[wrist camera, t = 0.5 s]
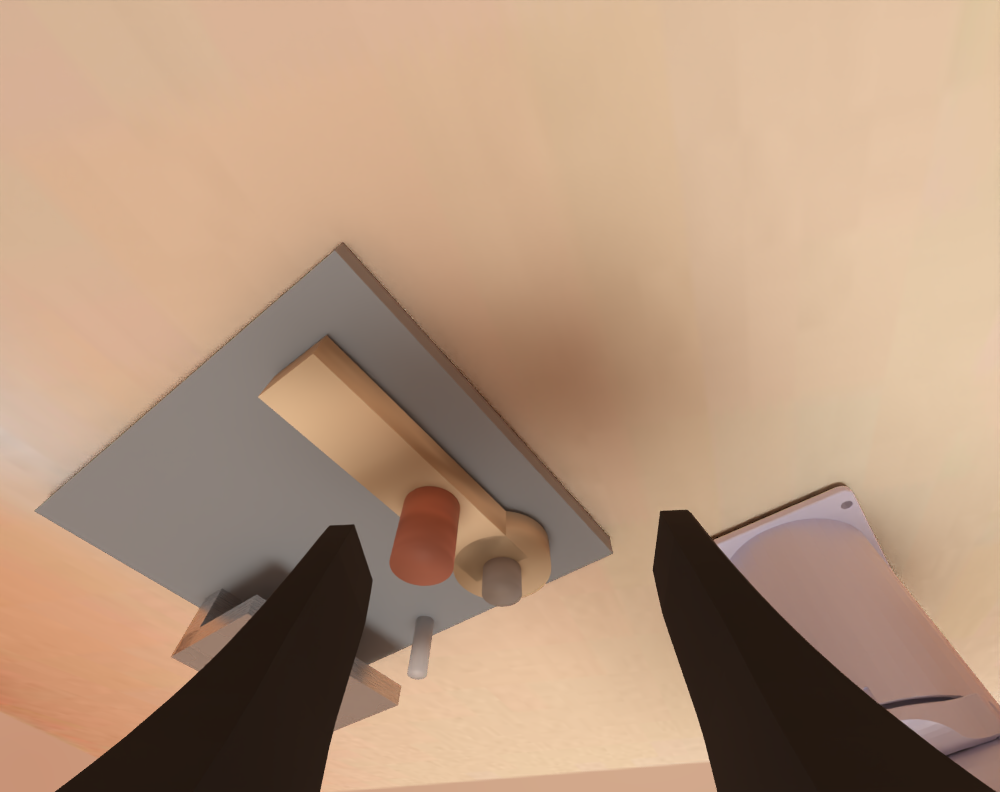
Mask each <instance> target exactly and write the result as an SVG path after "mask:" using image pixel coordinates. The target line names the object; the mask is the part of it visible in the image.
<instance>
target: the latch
mask: <svg viewBox="0 0 1000 792" xmlns="http://www.w3.org/2000/svg"><path fill="white" fill-rule="evenodd" d="M258 398H260V399H261V400H262V401H263V402H264V403H266V404H267V405H268V406H269V407H270V408H271V409H273V410H274V411H275V412H276V413H277V414H279V415H280V416H281V417H282V418H283V419H285V420H286V421H287V422H288V423H289V424H290V425H292V426H293V427H294V428H295V429H296V430H298V431H299V432H300V433H301V434H302V435H303V436H305V437H306V438H307V439H308V440H309V441H311V442H312V443H313V444H314V445H315V446H316V447H318V448H319V449H320V450H321V451H322V452H324V453H325V454H326V455H327V456H328V457H330V458H331V459H332V460H333V461H334V462H335V463H337V464H338V465H339V466H340V467H341V468H343V469H344V470H345V471H346V472H347V473H348V474H350V475H351V476H352V477H353V478H354V479H356V480H357V481H358V482H359V483H360V484H362V485H363V486H364V487H365V488H366V489H367V490H369V491H370V492H371V493H372V494H373V495H375V496H376V497H377V498H378V499H379V500H380V501H382V502H383V503H384V504H385V505H386V506H388V507H389V508H390V509H391V510H392V511H393V512H395V513H396V514H397V515H398V516H399V517H400V520H399V524H398V528H397V532H396V536H395V540H394V544H393V548H392V552H391V556H390V561H389V565H390V568H391V570H392V572H393V573H394V574H395V575H396V576H397V577H398V578H399V579H401V580H403V581H405V582H407V583H410V584H413V585H419V586H430V585H436V584H439V583H441V582H443V581H445V580H447V579H448V578H449V577H450V576H451V574H452V572H454V575H455V578H456V580H457V581H458V583H459V584H460V585H461V586H462V587H463V588H464V589H466V590H467V591H469V592H470V593H472V594H474V595H477V596H479V597H482V598H483V599H484V600H485V601H486V602H487V603H489V604H491V605H494V606H501V607H503V606H510V605H513V604H515V603H517V602H518V601H519V600H520V599H521V598H523V597H526V596H529V595H531V594H533V593H535V592H536V591H538V590H539V589H541V588H542V587H543V586H544V585H545V584H546V582H547V581H548V579H549V577H550V574H551V559H550V548H549V539H548V536H547V533H546V531H545V530H544V528H543V527H542V526H541V525H540V524H539V523H538V522H537V521H535V520H534V519H532V518H530V517H528V516H526V515H523V514H520V513H516V512H510V511H505V510H504V509H503V508H502V507H501V506H500V505H499V504H498V503H497V502H496V501H495V500H494V499H493V498H492V497H491V496H490V495H489V494H488V493H487V492H486V491H485V490H484V489H483V488H482V487H481V486H480V485H479V484H478V483H477V482H476V481H475V480H474V479H473V478H472V477H471V476H470V475H468V474H467V473H466V472H465V471H464V470H463V469H462V468H461V467H460V466H459V465H458V464H457V463H456V462H455V461H454V460H453V459H452V458H451V457H450V456H449V455H448V454H447V453H446V452H445V451H444V450H443V449H442V448H441V447H440V446H439V445H438V444H437V443H436V442H435V441H434V440H433V439H432V438H431V437H430V436H429V435H428V434H427V433H426V432H425V431H424V430H423V429H422V428H421V427H420V426H419V425H418V424H417V423H415V422H414V421H413V420H412V419H411V418H410V417H409V416H408V415H407V414H406V413H405V412H404V411H403V410H402V409H401V408H400V407H399V406H398V405H397V404H396V403H395V402H394V401H393V400H392V399H391V398H390V397H389V396H388V395H387V394H386V393H385V392H384V391H383V390H382V389H381V388H380V387H379V386H378V385H377V384H376V383H375V382H374V381H373V380H372V379H371V378H370V377H369V376H368V375H367V374H366V373H365V372H364V371H363V370H361V369H360V368H359V367H358V366H357V365H356V364H355V363H354V362H353V361H352V360H351V359H350V358H349V357H348V356H347V355H346V354H345V353H344V352H343V351H342V350H341V349H340V348H339V347H338V346H337V345H336V344H335V343H334V342H333V341H332V340H331V339H330V338H329V337H328V336H327V335H326V336H325V337H324V338H322V339H321V340H320V341H319V342H317V343H316V344H315V345H313V346H312V347H311V348H310V349H308V350H307V351H306V352H305V353H303V354H302V355H301V356H300V357H298V358H297V359H296V360H295V361H293V362H292V363H291V364H289V365H288V366H287V367H286V368H284V369H283V370H282V371H281V372H279V373H278V374H277V375H276V376H274V377H273V379H272V380H271V381H270V382H269V384H268V385H267V386H266V387H265V389H264V390H263V391H262V392H261V394H260V395H259V396H258Z"/></svg>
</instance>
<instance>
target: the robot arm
mask: <svg viewBox="0 0 1000 792" xmlns="http://www.w3.org/2000/svg"><path fill="white" fill-rule="evenodd" d="M653 573H654V578H655V582H656V587H657V592H658V596H659V601H660V605H661V609H662V614H663V617H664V620H665V623H666V626H667V629H668V632H669V635H670V638H671V641H672V644H673V646H674V649H675V652H676V655H677V658H678V661H679V664H680V667H681V670H682V673H683V676H684V679H685V682H686V684H687V687H688V690H689V693H690V696H691V699H692V702H693V705H694V708H695V711H696V714H697V717H698V720H699V723H700V727H701V730H702V733H703V737H704V740H705V744H706V748H707V752H708V756H709V760H710V764H711V768H712V772H713V776H714V780H715V784H716V788H717V792H1000V706H999V704H998V703H997V702H996V701H995V699H994V698H993V697H992V695H991V694H990V693H989V692H988V690H987V689H986V688H985V687H984V685H983V684H982V683H981V682H980V680H979V679H978V678H977V677H976V675H975V674H974V673H973V672H972V670H971V669H970V668H969V667H968V665H967V664H966V663H965V662H964V660H963V659H962V658H961V657H960V655H959V654H958V653H957V652H956V650H955V649H954V648H953V647H952V645H951V644H950V643H949V642H948V640H947V639H946V638H945V636H944V635H943V634H942V633H941V631H940V630H939V629H938V628H937V626H936V625H935V624H934V623H933V621H932V620H931V619H930V618H929V616H928V615H927V614H926V613H925V611H924V610H923V609H922V608H921V606H920V605H919V604H918V603H917V601H916V600H915V599H914V598H913V596H912V595H911V594H910V593H909V591H908V590H907V589H906V588H905V586H904V585H903V584H902V583H901V581H900V580H899V579H898V577H897V576H896V575H895V574H894V572H893V571H892V569H891V567H890V565H889V563H888V561H887V559H886V557H885V555H884V553H883V551H882V549H881V547H880V545H879V543H878V541H877V539H876V537H875V535H874V533H873V531H872V529H871V527H870V525H869V523H868V521H867V519H866V517H865V515H864V513H863V511H862V509H861V507H860V505H859V503H858V501H857V499H856V497H855V495H854V493H853V492H852V491H851V489H850V488H849V487H847V486H838V487H835V488H833V489H830V490H828V491H826V492H823V493H821V494H819V495H816V496H814V497H812V498H809V499H807V500H805V501H803V502H800V503H798V504H796V505H793V506H791V507H789V508H786V509H784V510H782V511H779V512H777V513H775V514H772V515H770V516H768V517H765V518H763V519H761V520H758V521H756V522H754V523H751V524H749V525H747V526H745V527H742V528H740V529H738V530H735V531H733V532H731V533H728V534H726V535H724V536H721V537H719V538H717V539H714V540H713V539H712V538H711V537H710V536H709V535H708V533H707V532H706V531H705V530H704V528H703V527H702V526H701V525H700V523H699V522H698V521H697V520H696V518H695V517H694V516H693V515H692V513H690V512H689V511H688V510H672V511H660V518H659V526H658V534H657V541H656V549H655V557H654V565H653ZM372 582H373V579H372V576H371V573H370V570H369V567H368V564H367V561H366V558H365V555H364V552H363V549H362V546H361V543H360V540H359V537H358V534H357V531H356V528H355V525H354V524H350V525H329V527H328V528H327V529H326V530H325V531H324V532H323V533H322V535H321V536H320V537H319V538H318V539H317V541H316V542H315V543H314V544H313V546H312V547H311V548H310V549H309V551H308V552H307V553H306V554H305V555H304V557H303V558H302V559H301V560H300V562H299V563H298V564H297V565H296V566H295V568H294V569H293V570H292V571H291V572H290V574H289V575H288V576H287V577H286V578H285V580H284V581H283V582H282V583H281V584H280V585H279V587H278V588H277V589H276V590H275V591H274V592H273V594H272V595H271V596H270V597H269V598H268V599H267V601H266V602H265V603H264V604H263V605H262V606H261V607H260V609H259V610H258V611H257V612H256V613H255V614H254V615H253V616H252V617H251V618H250V619H249V621H248V622H247V623H246V624H245V625H244V626H243V627H242V628H241V629H240V630H239V631H238V632H237V634H236V635H235V636H234V637H233V638H232V639H231V640H230V641H229V642H228V643H227V644H226V645H225V646H224V647H223V648H222V649H221V650H220V651H219V652H218V653H217V654H216V655H215V656H214V657H213V658H212V659H211V660H210V661H209V662H208V663H207V664H206V665H205V666H204V667H203V668H202V669H201V670H200V671H199V672H198V673H197V674H196V675H195V676H194V677H193V678H192V679H191V680H190V681H189V682H188V683H186V684H185V685H184V686H183V687H182V688H181V689H180V690H179V691H178V692H177V693H175V694H174V695H173V696H172V697H171V698H170V699H169V700H168V701H167V702H165V703H164V704H163V705H162V706H161V707H160V708H158V709H157V710H156V711H155V712H154V713H153V714H151V715H150V716H149V717H148V718H147V719H146V720H144V721H143V722H142V723H141V724H140V725H139V726H137V727H136V728H135V729H134V730H133V731H132V732H130V733H129V734H128V735H127V736H126V737H125V738H123V739H122V740H121V741H120V742H118V743H117V744H116V745H115V746H113V747H112V748H111V749H110V750H108V751H107V752H106V753H105V754H103V755H102V756H101V757H100V758H98V759H97V760H96V761H95V762H93V763H92V764H91V765H89V766H88V767H87V768H86V769H84V770H83V771H82V772H80V773H79V774H78V775H76V776H75V777H74V778H73V779H71V780H70V781H69V782H67V783H66V784H65V785H63V786H62V787H61V788H59V789H58V790H57V791H55V792H320V789H321V784H322V779H323V775H324V770H325V765H326V760H327V755H328V751H329V746H330V742H331V738H332V734H333V731H334V727H335V723H336V720H337V716H338V713H339V710H340V706H341V703H342V700H343V696H344V693H345V690H346V687H347V683H348V680H349V677H350V673H351V670H352V667H353V663H354V660H355V657H356V653H357V650H358V647H359V643H360V640H361V637H362V633H363V630H364V626H365V622H366V617H367V612H368V606H369V601H370V595H371V589H372Z"/></svg>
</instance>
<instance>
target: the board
mask: <svg viewBox="0 0 1000 792" xmlns="http://www.w3.org/2000/svg"><path fill="white" fill-rule="evenodd" d="M326 335H327V336H328V337H329V338H330V339H331V340H332V341H333V342H334V343H335V344H336V345H337V346H338V347H339V348H340V349H341V350H342V351H343V352H344V353H345V354H346V355H347V356H348V357H349V358H350V359H351V360H352V361H353V362H354V363H355V364H356V365H357V366H358V367H359V368H360V369H361V370H363V371H364V372H365V373H366V374H367V375H368V376H369V377H370V378H371V379H372V380H373V381H374V382H375V383H376V384H377V385H378V386H379V387H380V388H381V389H382V390H383V391H384V392H385V393H386V394H387V395H388V396H389V397H390V398H391V399H392V400H393V401H394V402H395V403H396V404H397V405H398V406H399V407H400V408H401V409H402V410H403V411H404V412H405V413H406V414H407V415H408V416H409V417H410V418H411V419H412V420H413V421H414V422H415V423H417V424H418V425H419V426H420V427H421V428H422V429H423V430H424V431H425V432H426V433H427V434H428V435H429V436H430V437H431V438H432V439H433V440H434V441H435V442H436V443H437V444H438V445H439V446H440V447H441V448H442V449H443V450H444V451H445V452H446V453H447V454H448V455H449V456H450V457H451V458H452V459H453V460H454V461H455V462H456V463H457V464H458V465H459V466H460V467H461V468H462V469H463V470H464V471H465V472H466V473H467V474H468V475H470V476H471V477H472V478H473V479H474V480H475V481H476V482H477V483H478V484H479V485H480V486H481V487H482V488H483V489H484V490H485V491H486V492H487V493H488V494H489V495H490V496H491V497H492V498H493V499H494V500H495V501H496V502H497V503H498V504H499V505H500V506H501V507H502V508H503V509H504V510H505V511H510V512H516V513H520V514H523V515H526V516H528V517H530V518H532V519H534V520H535V521H537V522H538V523H539V524H540V525H541V526H542V527H543V528H544V530H545V531H546V533H547V536H548V539H549V548H550V559H551V574H550V577H549V579H548V581H547V582H546V584H547V583H549V582H551V581H553V580H556V579H558V578H560V577H562V576H564V575H567V574H569V573H571V572H573V571H575V570H578V569H580V568H582V567H584V566H586V565H589V564H591V563H593V562H595V561H597V560H600V559H602V558H604V557H606V556H608V555H611V554H613V551H612V546H611V542H610V538H609V537H608V536H607V535H606V533H605V532H604V531H603V530H602V529H601V528H600V527H599V526H598V525H597V523H596V522H595V521H594V520H593V519H592V518H591V517H590V516H589V515H588V514H587V512H586V511H585V510H584V509H583V508H582V507H581V506H580V505H579V504H578V502H577V501H576V500H575V499H574V498H573V497H572V496H571V495H570V494H569V492H568V491H567V490H566V489H565V488H564V487H563V486H562V485H561V484H560V482H559V481H558V480H557V479H556V478H555V477H554V476H553V475H552V474H551V473H550V471H549V470H548V469H547V468H546V467H545V466H544V465H543V464H542V463H541V461H540V460H539V459H538V458H537V457H536V456H535V455H534V454H533V453H532V451H531V450H530V449H529V448H528V447H527V446H526V445H525V444H524V443H523V441H522V440H521V439H520V438H519V437H518V436H517V435H516V434H515V433H514V432H513V430H512V429H511V428H510V427H509V426H508V425H507V424H506V423H505V422H504V420H503V419H502V418H501V417H500V416H499V415H498V414H497V413H496V412H495V410H494V409H493V408H492V407H491V406H490V405H489V404H488V403H487V402H486V400H485V399H484V398H483V397H482V396H481V395H480V394H479V393H478V392H477V391H476V389H475V388H474V387H473V386H472V385H471V384H470V383H469V382H468V381H467V379H466V378H465V377H464V376H463V375H462V374H461V373H460V372H459V371H458V369H457V368H456V367H455V366H454V365H453V364H452V363H451V362H450V361H449V359H448V358H447V357H446V356H445V355H444V354H443V353H442V352H441V351H440V350H439V348H438V347H437V346H436V345H435V344H434V343H433V342H432V341H431V340H430V338H429V337H428V336H427V335H426V334H425V333H424V332H423V331H422V330H421V328H420V327H419V326H418V325H417V324H416V323H415V322H414V321H413V320H412V318H411V317H410V316H409V315H408V314H407V313H406V312H405V311H404V310H403V309H402V307H401V306H400V305H399V304H398V303H397V302H396V301H395V300H394V299H393V297H392V296H391V295H390V294H389V293H388V292H387V291H386V290H385V289H384V287H383V286H382V285H381V284H380V283H379V282H378V281H377V280H376V279H375V277H374V276H373V275H372V274H371V273H370V272H369V271H368V270H367V269H366V268H365V266H364V265H363V264H362V263H361V262H360V261H359V260H358V259H357V258H356V256H355V255H354V254H353V253H352V252H351V251H350V250H349V249H348V248H347V246H346V245H345V244H344V243H342V244H341V245H339V246H338V247H337V248H336V249H335V250H334V251H333V252H331V253H330V254H329V255H328V256H327V257H326V258H324V259H323V260H322V261H321V262H320V263H319V264H318V265H316V266H315V267H314V268H313V269H312V270H311V271H309V272H308V273H307V274H306V275H305V276H304V277H303V278H301V279H300V280H299V281H298V282H297V283H296V284H295V285H293V286H292V287H291V288H290V289H289V290H288V291H286V292H285V293H284V294H283V295H282V296H281V297H280V298H278V299H277V300H276V301H275V302H274V303H273V304H271V305H270V306H269V307H268V308H267V309H266V310H265V311H263V312H262V313H261V314H260V315H259V316H258V317H257V318H255V319H254V320H253V321H252V322H251V323H250V324H248V325H247V326H246V327H245V328H244V329H243V330H242V331H240V332H239V333H238V334H237V335H236V336H235V337H233V338H232V339H231V340H230V341H229V342H228V343H227V344H225V345H224V346H223V347H222V348H221V349H220V350H218V351H217V352H216V353H215V354H214V355H213V356H212V357H210V358H209V359H208V360H207V361H206V362H205V363H204V364H202V365H201V366H200V367H199V368H198V369H197V370H195V371H194V372H193V373H192V374H191V375H190V376H189V377H187V378H186V379H185V380H184V381H183V382H182V383H180V384H179V385H178V386H177V387H176V388H175V389H174V390H172V391H171V392H170V393H169V394H168V395H167V396H166V397H164V398H163V399H162V400H161V401H160V402H159V403H157V404H156V405H155V406H154V407H153V408H152V409H151V410H149V411H148V412H147V413H146V414H145V415H144V416H142V417H141V418H140V419H139V420H138V421H137V422H136V423H134V424H133V425H132V426H131V427H130V428H129V429H127V430H126V431H125V432H124V433H123V434H122V435H121V436H119V437H118V438H117V439H116V440H115V441H114V442H113V443H111V444H110V445H109V446H108V447H107V448H106V449H104V450H103V451H102V452H101V453H100V454H99V455H98V456H96V457H95V458H94V459H93V460H92V461H91V462H89V463H88V464H87V465H86V466H85V467H84V468H83V469H81V470H80V471H79V472H78V473H77V474H76V475H75V476H73V477H72V478H71V479H70V480H69V481H68V482H66V483H65V484H64V485H63V486H62V487H61V488H60V489H58V490H57V491H56V492H55V493H54V494H53V495H51V496H50V497H49V498H48V499H47V500H46V501H45V502H44V503H43V504H41V505H40V506H39V507H38V508H37V509H36V510H35V512H37V513H38V514H40V515H42V516H43V517H45V518H47V519H49V520H50V521H52V522H54V523H55V524H57V525H59V526H61V527H62V528H64V529H66V530H67V531H69V532H71V533H73V534H74V535H76V536H78V537H79V538H81V539H83V540H84V541H86V542H88V543H90V544H91V545H93V546H95V547H96V548H98V549H100V550H102V551H103V552H105V553H107V554H108V555H110V556H112V557H114V558H115V559H117V560H119V561H120V562H122V563H124V564H126V565H127V566H129V567H131V568H132V569H134V570H136V571H138V572H139V573H141V574H143V575H144V576H146V577H148V578H150V579H151V580H153V581H155V582H156V583H158V584H160V585H162V586H163V587H165V588H167V589H168V590H170V591H172V592H173V593H175V594H177V595H179V596H180V597H182V598H184V599H185V600H187V601H189V602H191V603H192V604H194V605H196V606H197V607H199V608H200V607H201V605H202V603H203V601H204V600H205V598H207V597H208V596H210V595H212V594H213V593H215V592H217V591H218V590H220V589H221V588H223V589H224V590H226V591H228V592H229V593H231V594H232V595H234V596H236V597H237V598H239V599H241V600H242V601H244V602H245V601H246V600H248V599H250V598H252V597H253V596H255V595H258V596H260V597H262V598H263V599H265V600H266V601H267V599H268V598H269V597H270V596H271V595H272V594H273V592H274V591H275V590H276V589H277V588H278V587H279V585H280V584H281V583H282V582H283V581H284V580H285V578H286V577H287V576H288V575H289V574H290V572H291V571H292V570H293V569H294V568H295V566H296V565H297V564H298V563H299V562H300V560H301V559H302V558H303V557H304V555H305V554H306V553H307V552H308V551H309V549H310V548H311V547H312V546H313V544H314V543H315V542H316V541H317V539H318V538H319V537H320V536H321V535H322V533H323V532H324V531H325V530H326V529H327V528H328V527H329V525H350V524H354V525H355V528H356V531H357V534H358V537H359V540H360V543H361V546H362V549H363V552H364V555H365V558H366V561H367V564H368V567H369V570H370V573H371V576H372V579H373V582H372V589H371V595H370V601H369V606H368V612H367V617H366V622H365V626H364V630H363V633H362V637H361V640H360V643H359V647H358V650H357V653H356V658H358V659H359V660H361V661H363V662H364V663H366V664H367V665H368V664H370V663H373V662H375V661H377V660H379V659H381V658H384V657H386V656H388V655H390V654H392V653H395V652H397V651H399V650H401V649H404V648H406V647H408V646H410V645H412V649H411V655H410V661H409V667H408V673H407V674H408V676H409V677H410V678H413V679H423V678H425V677H426V676H427V669H428V662H429V654H430V647H431V640H432V635H434V634H437V633H439V632H441V631H443V630H445V629H448V628H450V627H452V626H454V625H456V624H459V623H461V622H463V621H465V620H467V619H470V618H472V617H474V616H476V615H478V614H481V613H483V612H485V611H487V610H489V609H492V608H494V607H496V606H494V605H491V604H489V603H487V602H486V601H485V600H484V599H483V598H482V597H479V596H477V595H474V594H472V593H470V592H469V591H467V590H466V589H464V588H463V587H462V586H461V585H460V584H459V583H458V581H457V580H456V578H455V575H454V572H452V574H451V576H450V577H449V578H448V579H447V580H445V581H443V582H441V583H439V584H436V585H430V586H419V585H413V584H410V583H407V582H405V581H403V580H401V579H399V578H398V577H397V576H396V575H395V574H394V573H393V572H392V570H391V568H390V565H389V561H390V556H391V552H392V548H393V544H394V540H395V536H396V532H397V528H398V524H399V520H400V517H399V516H398V515H397V514H396V513H395V512H393V511H392V510H391V509H390V508H389V507H388V506H386V505H385V504H384V503H383V502H382V501H380V500H379V499H378V498H377V497H376V496H375V495H373V494H372V493H371V492H370V491H369V490H367V489H366V488H365V487H364V486H363V485H362V484H360V483H359V482H358V481H357V480H356V479H354V478H353V477H352V476H351V475H350V474H348V473H347V472H346V471H345V470H344V469H343V468H341V467H340V466H339V465H338V464H337V463H335V462H334V461H333V460H332V459H331V458H330V457H328V456H327V455H326V454H325V453H324V452H322V451H321V450H320V449H319V448H318V447H316V446H315V445H314V444H313V443H312V442H311V441H309V440H308V439H307V438H306V437H305V436H303V435H302V434H301V433H300V432H299V431H298V430H296V429H295V428H294V427H293V426H292V425H290V424H289V423H288V422H287V421H286V420H285V419H283V418H282V417H281V416H280V415H279V414H277V413H276V412H275V411H274V410H273V409H271V408H270V407H269V406H268V405H267V404H266V403H264V402H263V401H262V400H261V399H260V398H258V396H259V395H260V394H261V392H262V391H263V390H264V389H265V387H266V386H267V385H268V384H269V382H270V381H271V380H272V379H273V377H274V376H276V375H277V374H278V373H279V372H281V371H282V370H283V369H284V368H286V367H287V366H288V365H289V364H291V363H292V362H293V361H295V360H296V359H297V358H298V357H300V356H301V355H302V354H303V353H305V352H306V351H307V350H308V349H310V348H311V347H312V346H313V345H315V344H316V343H317V342H319V341H320V340H321V339H322V338H324V337H325V336H326Z"/></svg>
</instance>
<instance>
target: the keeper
mask: <svg viewBox="0 0 1000 792" xmlns="http://www.w3.org/2000/svg"><path fill="white" fill-rule="evenodd" d="M265 602H266V600H265V599H263V598H262V597H260V596H258V595H255V596H253V597H252V598H250V599H248V600H246V601H245V602H244V601H242V600H241V599H239V598H237V597H236V596H234V595H232V594H231V593H229V592H228V591H226V590H224V589H223V588H221V589H220V590H218V591H217V592H215V593H213V594H212V595H210V596H208V597H207V598H205V600H204V601H203V603H202V605H201V607H200V608H199V610H198V612H197V613H196V615H195V617H194V618H193V620H192V622H191V624H190V625H189V627H188V629H187V630H186V632H185V634H184V635H183V637H182V639H181V641H180V642H179V644H178V646H177V647H176V649H175V651H174V652H173V654H172V656H171V657H172V658H174V659H176V660H178V661H180V662H182V663H184V664H185V665H187V666H189V667H191V668H193V669H195V670H197V671H200V670H201V669H202V668H203V667H204V666H205V665H206V664H207V663H208V662H209V661H210V660H211V659H212V658H213V657H214V656H215V655H216V654H217V653H218V652H219V651H220V650H221V649H222V648H223V647H224V646H225V645H226V644H227V643H228V642H229V641H230V640H231V639H232V638H233V637H234V636H235V635H236V634H237V632H238V631H239V630H240V629H241V628H242V627H243V626H244V625H245V624H246V623H247V622H248V621H249V619H250V618H251V617H252V616H253V615H254V614H255V613H256V612H257V611H258V610H259V609H260V607H261V606H262V605H263V604H264V603H265ZM400 690H401V686H400V685H399V684H397V683H396V682H394V681H393V680H391V679H389V678H388V677H386V676H385V675H383V674H381V673H380V672H378V671H377V670H375V669H374V668H372V667H370V666H369V665H367V664H366V663H364V662H363V661H361V660H359V659H358V658H356V657H355V660H354V663H353V667H352V670H351V673H350V677H349V680H348V683H347V687H346V690H345V693H344V696H343V700H342V703H341V706H340V710H339V713H338V716H337V720H336V723H335V727H334V731H335V730H338V729H340V728H342V727H345V726H347V725H350V724H352V723H355V722H357V721H360V720H362V719H365V718H367V717H370V716H372V715H375V714H377V713H380V712H382V711H384V710H387V709H389V708H392V707H394V706H397V705H398V702H399V696H400Z"/></svg>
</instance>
